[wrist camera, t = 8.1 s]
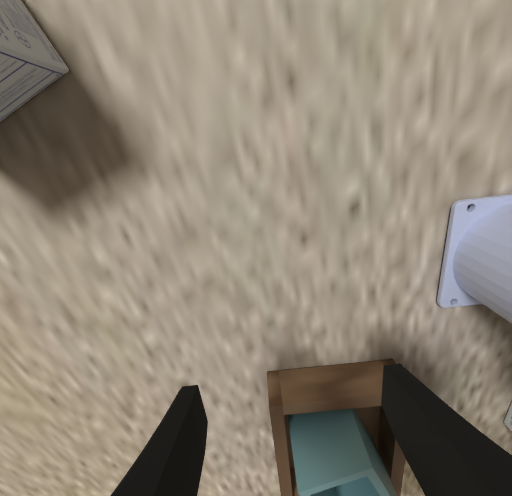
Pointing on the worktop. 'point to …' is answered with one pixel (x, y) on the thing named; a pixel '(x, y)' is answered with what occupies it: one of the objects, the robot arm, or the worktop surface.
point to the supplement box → (509, 418)
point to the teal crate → (336, 455)
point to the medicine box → (24, 58)
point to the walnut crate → (326, 399)
